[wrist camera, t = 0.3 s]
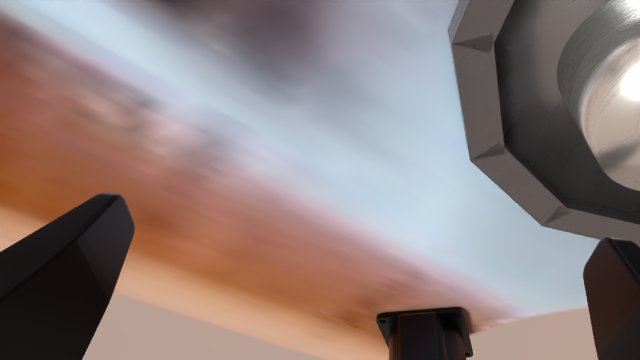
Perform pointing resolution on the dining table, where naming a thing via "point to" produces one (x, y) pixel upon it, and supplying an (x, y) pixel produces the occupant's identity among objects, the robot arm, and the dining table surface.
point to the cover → (606, 87)
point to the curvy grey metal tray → (533, 116)
